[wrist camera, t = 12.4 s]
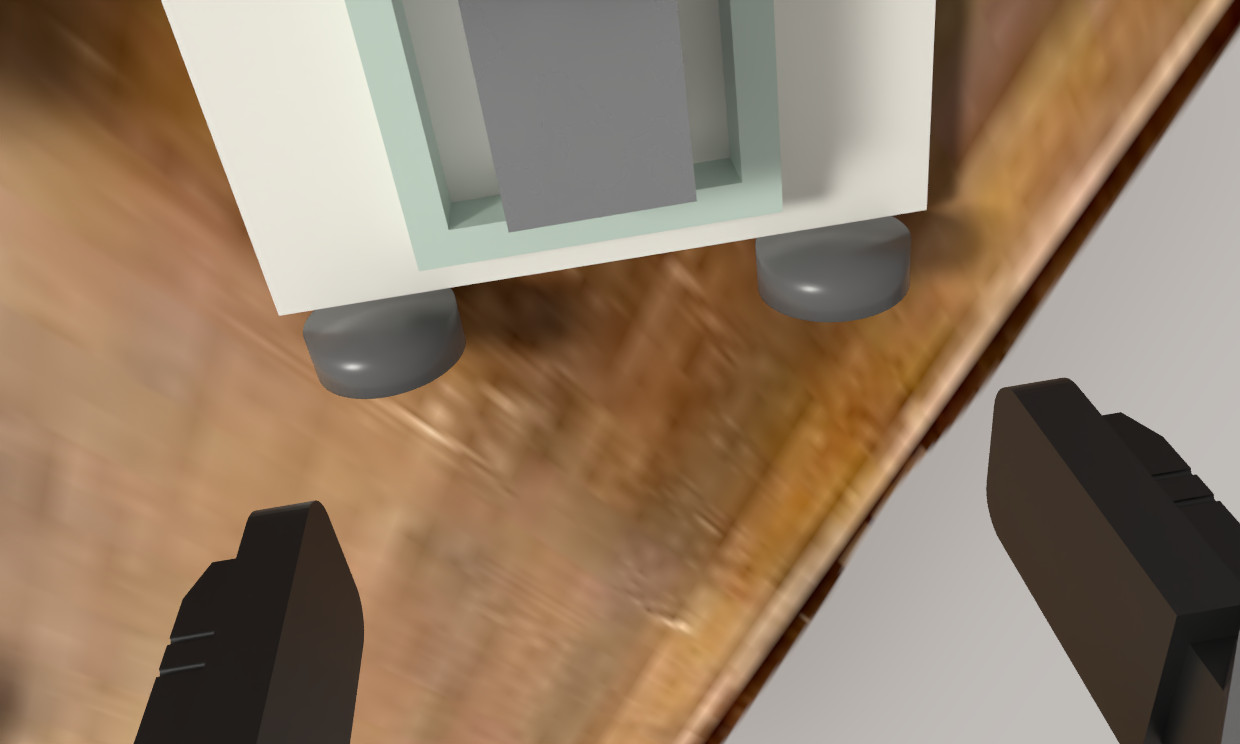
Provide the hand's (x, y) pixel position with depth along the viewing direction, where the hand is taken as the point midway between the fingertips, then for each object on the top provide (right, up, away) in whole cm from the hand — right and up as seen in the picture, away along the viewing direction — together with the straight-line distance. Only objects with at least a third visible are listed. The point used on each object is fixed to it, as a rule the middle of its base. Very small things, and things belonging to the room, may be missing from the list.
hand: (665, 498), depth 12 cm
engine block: (-2, +12, +18) cm, 21 cm away
